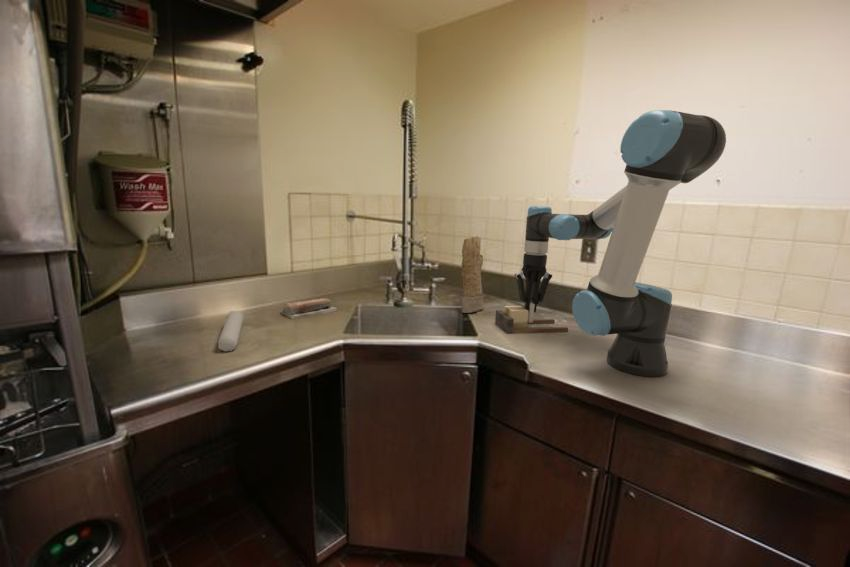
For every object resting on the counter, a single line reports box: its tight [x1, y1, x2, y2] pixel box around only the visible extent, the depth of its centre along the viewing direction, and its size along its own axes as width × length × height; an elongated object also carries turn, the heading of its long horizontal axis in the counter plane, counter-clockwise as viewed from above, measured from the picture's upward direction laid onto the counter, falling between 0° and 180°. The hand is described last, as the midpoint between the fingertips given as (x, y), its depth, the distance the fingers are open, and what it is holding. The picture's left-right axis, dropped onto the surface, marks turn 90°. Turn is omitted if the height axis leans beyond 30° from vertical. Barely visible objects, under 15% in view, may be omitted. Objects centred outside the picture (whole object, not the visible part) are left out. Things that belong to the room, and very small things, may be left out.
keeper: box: [503, 305, 529, 328], centre depth 136 cm, size 6×6×7 cm
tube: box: [217, 310, 245, 353], centre depth 120 cm, size 5×5×25 cm
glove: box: [460, 235, 485, 314], centre depth 158 cm, size 14×10×30 cm
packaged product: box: [280, 298, 338, 320], centre depth 149 cm, size 18×5×10 cm
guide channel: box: [494, 309, 569, 335], centre depth 137 cm, size 12×22×6 cm, turn 101°
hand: (529, 321), depth 137 cm, fingers closed
